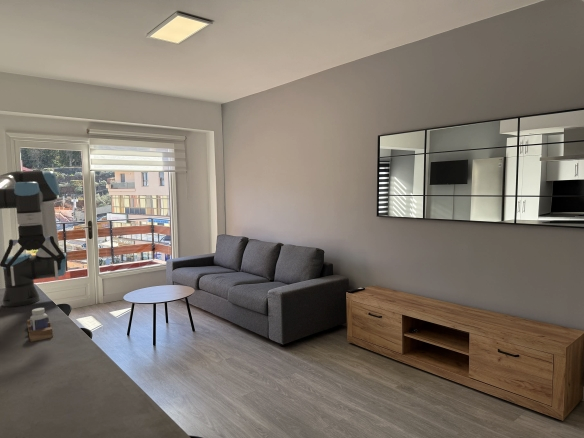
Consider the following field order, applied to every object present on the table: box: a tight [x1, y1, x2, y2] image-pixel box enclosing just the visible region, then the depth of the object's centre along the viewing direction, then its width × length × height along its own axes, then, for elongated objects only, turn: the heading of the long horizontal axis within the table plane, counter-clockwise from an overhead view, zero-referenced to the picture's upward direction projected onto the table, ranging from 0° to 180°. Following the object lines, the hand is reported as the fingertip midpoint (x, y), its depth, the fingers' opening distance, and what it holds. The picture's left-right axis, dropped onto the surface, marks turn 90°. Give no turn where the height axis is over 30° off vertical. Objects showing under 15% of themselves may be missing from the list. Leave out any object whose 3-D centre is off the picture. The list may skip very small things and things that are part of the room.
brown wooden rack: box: [27, 315, 54, 343], centre depth 154 cm, size 20×7×3 cm, turn 35°
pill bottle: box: [29, 307, 48, 331], centre depth 150 cm, size 5×5×10 cm
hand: (35, 281), depth 149 cm, fingers open, 13 cm apart
